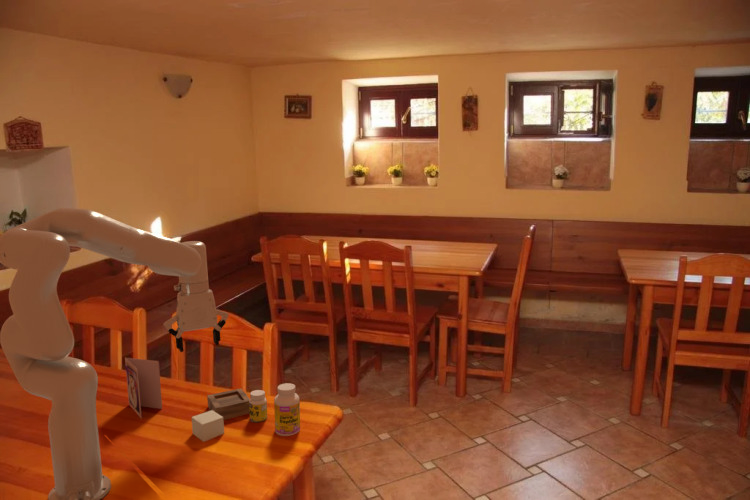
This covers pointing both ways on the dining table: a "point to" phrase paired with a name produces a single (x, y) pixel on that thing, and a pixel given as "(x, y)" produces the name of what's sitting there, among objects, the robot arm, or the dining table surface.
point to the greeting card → (143, 384)
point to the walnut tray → (229, 403)
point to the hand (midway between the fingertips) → (198, 347)
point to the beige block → (207, 425)
